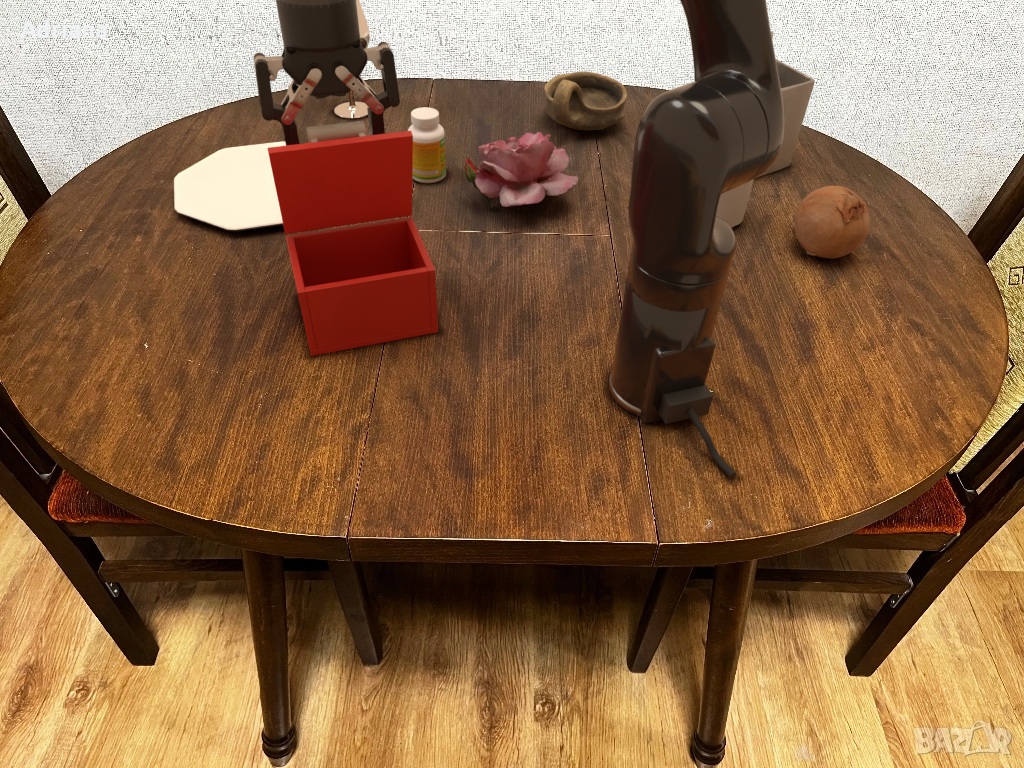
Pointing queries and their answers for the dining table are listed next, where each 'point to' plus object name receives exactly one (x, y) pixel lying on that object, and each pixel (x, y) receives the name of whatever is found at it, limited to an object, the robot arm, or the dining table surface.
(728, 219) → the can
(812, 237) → the onion
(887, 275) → the dining table surface
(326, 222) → the red box lid
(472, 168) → the flower
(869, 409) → the dining table surface
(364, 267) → the red box
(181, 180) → the plate
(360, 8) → the wineglass
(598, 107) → the bowl
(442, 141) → the supplement bottle
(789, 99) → the planter
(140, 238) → the dining table surface
